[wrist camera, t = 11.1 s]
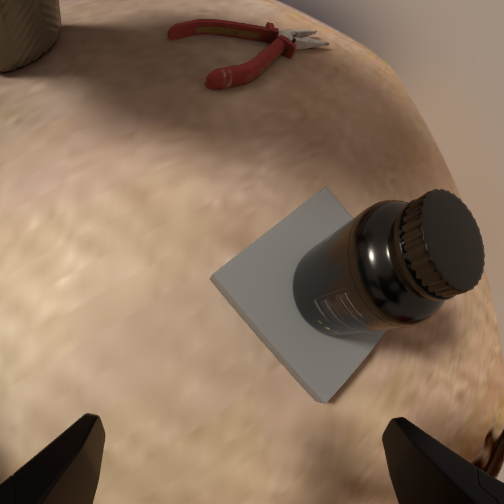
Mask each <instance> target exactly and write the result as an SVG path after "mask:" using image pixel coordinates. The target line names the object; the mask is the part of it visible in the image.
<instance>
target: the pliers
mask: <svg viewBox="0 0 504 504" xmlns="http://www.w3.org/2000/svg"><path fill="white" fill-rule="evenodd" d="M316 32H317V31H311V30H298V29H288V30H283V31H278V28H274V25H273V23H269V22H267V24H266V26H265V27H262V26H257V25H251V24H245V23H239V22H232V21H225V20H216V19H198V20H193V21H188V22H183V23H178V24H175V25H173V26H172V27H171V28H170V29H169V31H168V38H169V40H170V41H171V40H175V39H180V38H184V37H189V36H193V35H201V34H212V35H221V36H229V37H236V38H242V39H248V40H254V41H260V42H265V43H270V45H269V46H267V47H266V48H265V49H264V50H263V51H262V52H261V53H259V54H258V55H257V56H256V57H255V58H254V59H252V60H250V61H249V62H247V63H244V64H241V65H238V66H237V65H236V66H230V67H224V68H219V69H216V70H214V71H212V72H211V73H209V74H208V76H207V78H206V82H205V84H206V86H207V87H208V88H209V89H212V90H220V89H225V88H229V87H234V86H239V85H244V84H246V83H249V82H250V81H252V80H254V79H255V78H257V77H258V76H259V75H260V74H261V73H262V72H263V71H264V70H265V69H266V68H267V67H268V66H269V65H270V64H271V63H272V62H273V61H274V60H275V59H277V58H278V57H279V56H280V55H283V56H285V57H287V58H289V59H290V58H291V57H292V56H293V54H294V52H295V50H296V49H307V48H313V47H320V46H328V45H329V43H326V42H323V41H320V40H316V39H313V38H309V37H307V36H310V35H312V34H315V33H316Z"/></svg>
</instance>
